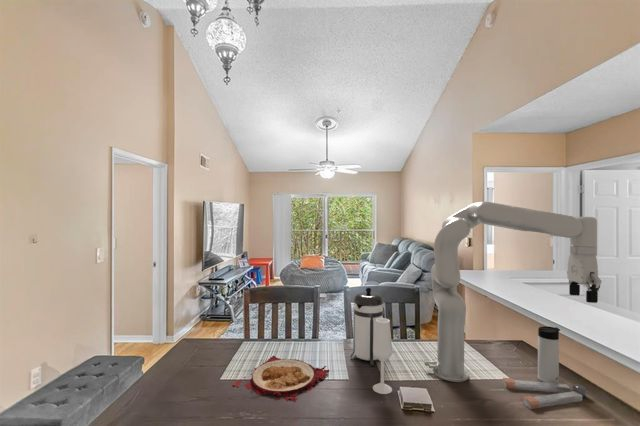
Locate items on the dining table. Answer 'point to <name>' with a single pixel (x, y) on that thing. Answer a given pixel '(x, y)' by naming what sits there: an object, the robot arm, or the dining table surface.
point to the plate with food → (284, 377)
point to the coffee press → (366, 324)
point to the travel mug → (548, 354)
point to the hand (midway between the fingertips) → (582, 298)
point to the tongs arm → (551, 399)
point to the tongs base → (542, 386)
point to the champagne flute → (382, 350)
